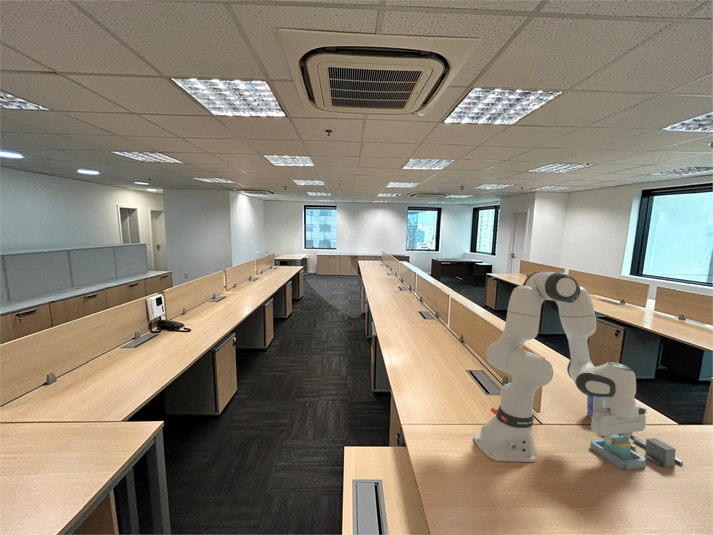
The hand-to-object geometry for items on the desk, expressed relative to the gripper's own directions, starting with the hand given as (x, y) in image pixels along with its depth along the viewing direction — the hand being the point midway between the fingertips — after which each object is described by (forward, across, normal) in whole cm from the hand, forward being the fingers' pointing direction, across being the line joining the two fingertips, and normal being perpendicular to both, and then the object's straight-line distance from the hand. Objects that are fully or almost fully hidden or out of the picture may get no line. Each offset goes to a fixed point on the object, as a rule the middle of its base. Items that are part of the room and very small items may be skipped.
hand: (617, 443), depth 104 cm
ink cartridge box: (+5, +19, +21) cm, 29 cm away
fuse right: (+5, +13, -4) cm, 15 cm away
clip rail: (+5, +13, +4) cm, 14 cm away
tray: (+5, 0, 0) cm, 5 cm away
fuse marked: (+4, 0, 0) cm, 4 cm away
